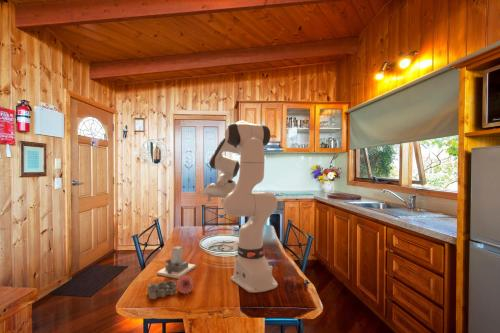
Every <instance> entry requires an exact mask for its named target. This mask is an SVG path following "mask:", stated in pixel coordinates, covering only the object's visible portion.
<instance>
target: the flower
mask: <svg viewBox="0 0 500 333" xmlns="http://www.w3.org/2000/svg"><path fill="white" fill-rule="evenodd" d="M188 274H189V273H186V274H185V275H184V274H183V276H181V275H180V276H181V277H180V278H177V279H178V280H176V282H177V283H176V282H175V284H176V287H177V288H176V289H177V290H178V292H180V293H181V294H183V295H186V294H187V295H189V293H192V291H193V290H194V287H195V285H194V284H195V281H194V280H195V279H194V278H193V276H190V275H191V274H189V275H188ZM193 281H194V282H193Z"/></svg>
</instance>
